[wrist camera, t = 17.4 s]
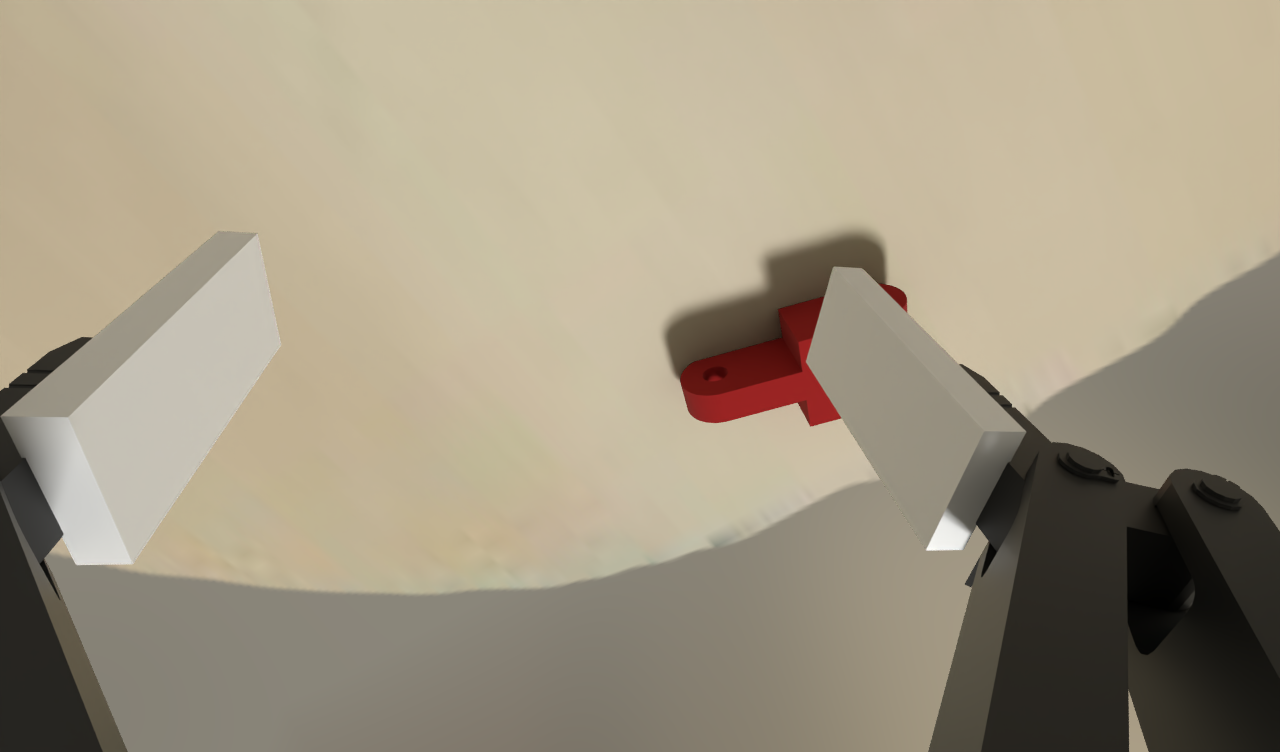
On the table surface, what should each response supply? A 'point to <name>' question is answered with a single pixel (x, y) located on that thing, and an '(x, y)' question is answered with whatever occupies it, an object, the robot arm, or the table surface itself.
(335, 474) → the table surface
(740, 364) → the mechanical linkage
